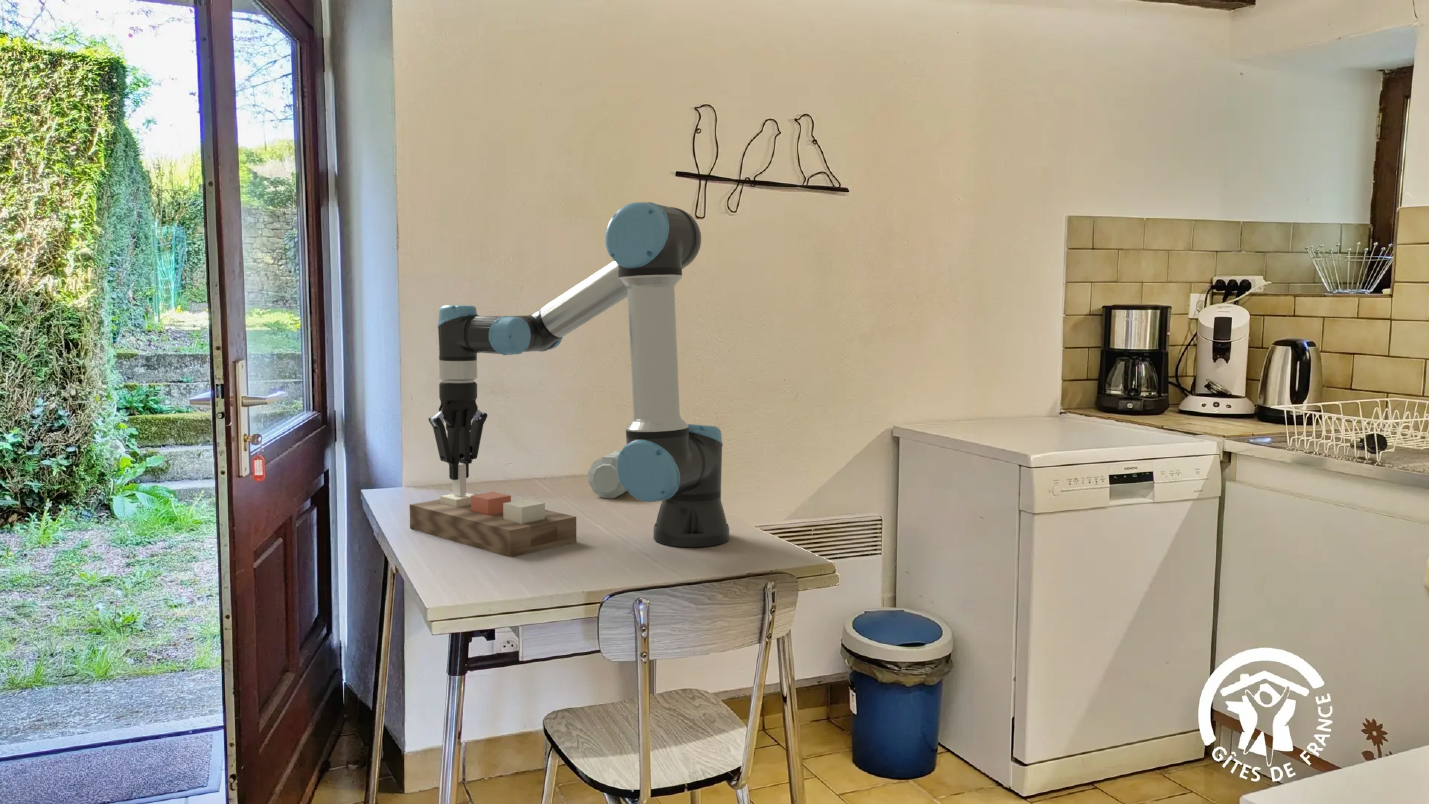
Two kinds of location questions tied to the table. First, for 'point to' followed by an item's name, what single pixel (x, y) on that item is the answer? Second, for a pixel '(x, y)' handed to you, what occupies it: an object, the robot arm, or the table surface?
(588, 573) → the table surface
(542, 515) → the button front
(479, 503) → the button middle
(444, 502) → the button back
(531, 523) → the wooden button box
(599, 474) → the device
